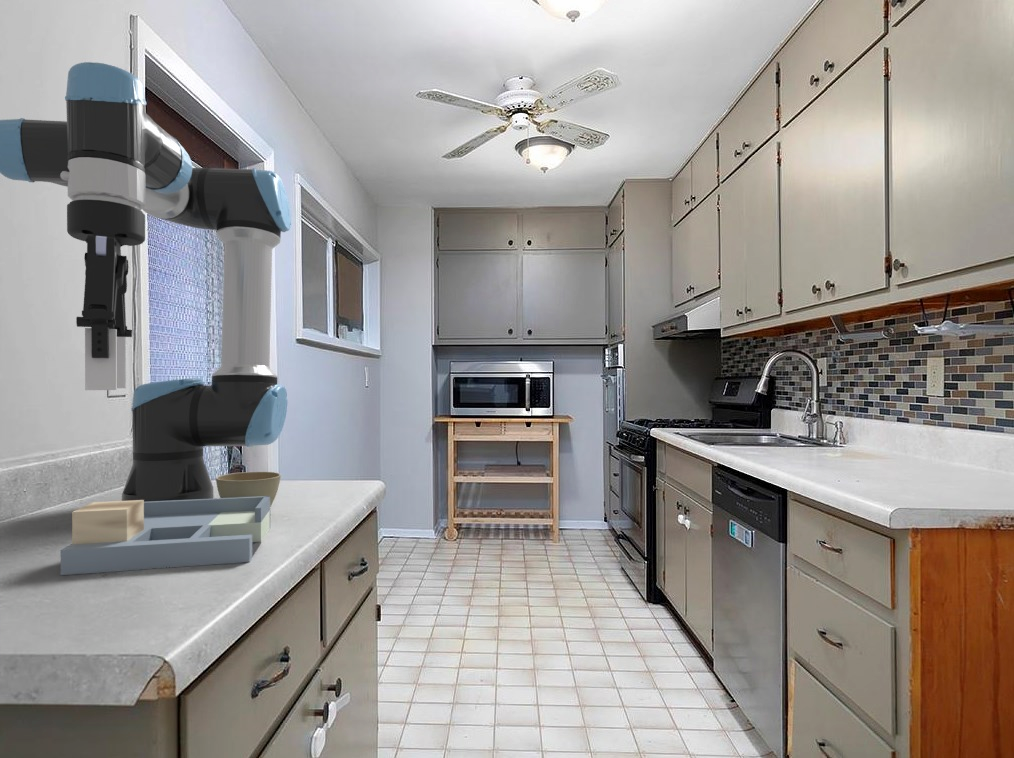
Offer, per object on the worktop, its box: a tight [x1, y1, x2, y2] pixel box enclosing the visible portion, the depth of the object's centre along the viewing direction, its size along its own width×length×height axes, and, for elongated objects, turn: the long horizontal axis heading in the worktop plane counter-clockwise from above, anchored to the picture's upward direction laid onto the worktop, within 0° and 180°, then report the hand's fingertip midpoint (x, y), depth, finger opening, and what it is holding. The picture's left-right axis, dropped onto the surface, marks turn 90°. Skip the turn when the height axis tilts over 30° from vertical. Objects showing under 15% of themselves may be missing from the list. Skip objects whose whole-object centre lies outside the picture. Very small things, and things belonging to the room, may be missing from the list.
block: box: [71, 500, 144, 544], centre depth 77 cm, size 6×6×4 cm
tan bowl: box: [215, 471, 282, 508], centre depth 100 cm, size 10×10×7 cm
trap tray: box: [60, 496, 271, 576], centre depth 82 cm, size 18×21×5 cm
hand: (107, 389), depth 69 cm, fingers open, 13 cm apart
